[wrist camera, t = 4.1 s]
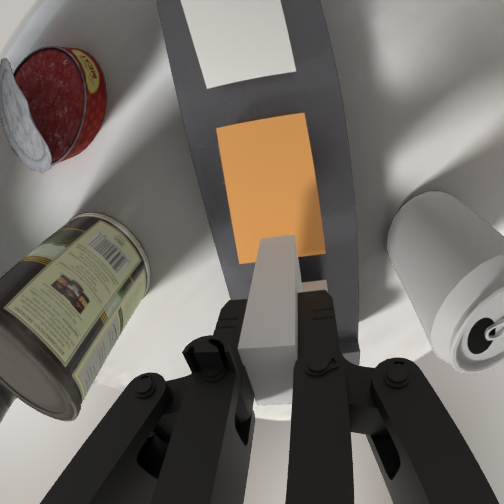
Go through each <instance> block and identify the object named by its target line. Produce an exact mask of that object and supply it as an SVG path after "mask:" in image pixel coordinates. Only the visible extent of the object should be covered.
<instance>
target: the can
mask: <svg viewBox="0 0 504 504" xmlns="http://www.w3.org/2000/svg"><path fill="white" fill-rule="evenodd" d="M387 251H388V254H389V258H390V261H391V263H392V265H393V267H394V269H395V271H396V273H397V275H398V277H399V278H400V280H401V282H402V284H403V286H404V288H405V290H406V292H407V294H408V297H409V299H410V301H411V303H412V305H413V307H414V309H415V311H416V313H417V316H418V318H419V320H420V322H421V324H422V327H423V329H424V331H425V333H426V336H427V338H428V340H429V343H430V345H431V347H432V349H433V350H434V352H435V353H436V355H437V357H438V358H440V359H442V360H444V361H446V362H448V363H451V364H452V366H453V367H454V369H455V370H457V371H459V372H461V373H463V374H477V373H480V372H483V371H487V370H490V369H491V368H494V367H496V366H497V365H499V364H501V363H502V362H504V236H503V235H501V234H500V233H499V232H498V231H497V230H496V229H494V228H493V227H492V226H491V225H490V224H489V223H487V222H486V221H485V220H484V219H482V218H481V217H480V216H479V215H478V214H476V213H475V212H474V211H472V210H471V209H470V208H469V207H467V206H466V205H465V204H463V203H462V202H461V201H459V200H458V199H457V198H455V197H454V196H452V195H450V194H447V193H445V192H442V191H428V192H425V193H423V194H420V195H417V196H415V197H413V198H412V199H411V200H410V201H408V202H407V203H406V204H404V205H403V206H402V207H401V209H400V210H399V211H398V213H397V214H396V216H395V217H394V218H393V220H392V223H391V226H390V228H389V231H388V236H387Z"/></svg>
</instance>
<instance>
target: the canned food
mask: <svg viewBox="0 0 504 504" xmlns="http://www.w3.org/2000/svg"><path fill="white" fill-rule="evenodd" d="M106 98H107V94H106V83H105V79H104V75H103V72H102V70H101V68H100V66H99V64H98V63H97V62H96V60H95V59H94V58H93V57H92V56H91V55H90V54H88V53H87V52H85V51H83V50H80V49H76V48H64V47H57V46H47V47H43V48H40V49H38V50H36V51H34V52H32V53H31V54H29V55H28V56H27V57H26V58H25V59H24V60H23V61H22V62H21V63H20V64H19V65H18V67H17V68H16V70H15V72H14V73H13V72H12V69H11V66H10V63H9V61H8V60H7V58H3V59H1V64H0V115H1V120H2V125H3V128H4V130H5V132H6V136H7V139H8V142H9V144H10V146H11V148H12V149H13V151H14V153H15V154H16V155H17V156H18V157H19V158H20V160H21V161H22V162H24V163H25V164H26V165H27V166H28V167H29V168H30V169H31V170H34V171H39V172H41V173H44V172H45V171H47V170H49V169H51V166H53V165H55V164H57V163H59V162H61V161H64V160H66V159H69V158H71V157H73V156H76V155H78V154H79V153H81V152H82V151H83V150H85V149H86V148H87V147H88V146H89V144H90V143H91V142H92V141H93V139H94V138H95V136H96V134H97V133H98V131H99V129H100V126H101V123H102V121H103V117H104V113H105V109H106Z"/></svg>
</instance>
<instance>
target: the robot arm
mask: <svg viewBox="0 0 504 504" xmlns="http://www.w3.org/2000/svg"><path fill="white" fill-rule="evenodd" d="M182 353H183V355H184V357H185V359H186V361H187V363H188V365H189V367H190V369H191V371H192V374H190V375H188V376H185V377H182V378H178V379H174V380H170V381H165V380H164V378H163V377H162V376H161V375H159V374H157V373H150V372H149V373H145V374H141V375H139V376H138V377H136V378H134V379H133V380H132V381H131V382H130V383H129V384H128V386H127V387H126V388H125V390H124V391H123V392H122V394H121V395H120V396H119V397H118V399H117V400H116V402H115V403H114V404H113V405H112V407H111V408H110V409H109V411H108V412H107V413H106V415H105V416H104V417H103V419H102V420H101V421H100V423H99V424H98V425H97V427H96V428H95V429H94V431H93V432H92V433H91V435H90V436H89V437H88V439H87V440H86V441H85V443H84V444H83V445H82V447H81V448H80V449H79V451H78V452H77V453H76V455H75V456H74V457H73V459H72V460H71V462H70V463H69V464H68V466H67V467H66V468H65V470H64V471H63V472H62V474H61V475H60V477H59V478H58V479H57V481H56V482H55V484H54V485H53V486H52V488H51V489H50V490H49V492H48V493H47V494H46V496H45V497H44V499H43V500H42V501H41V503H40V504H243V502H244V495H245V488H246V482H247V475H248V468H249V461H250V454H251V447H252V440H253V433H254V425H255V414H254V411H253V402H254V398H255V401H256V404H257V405H275V404H292V415H291V434H290V450H289V465H288V479H287V493H286V503H285V504H354V483H353V461H352V445H351V432H355V433H361V434H366V437H367V439H368V442H369V444H370V446H371V449H372V451H373V454H374V456H375V459H376V461H377V463H378V466H379V468H380V471H381V473H382V476H383V478H384V481H385V483H386V486H387V488H388V491H389V493H390V496H391V498H392V501H393V503H394V504H499V502H498V500H497V498H496V496H495V494H494V492H493V490H492V488H491V487H490V485H489V483H488V481H487V479H486V477H485V475H484V473H483V472H482V470H481V468H480V466H479V464H478V462H477V461H476V459H475V457H474V455H473V453H472V452H471V450H470V448H469V447H468V445H467V443H466V441H465V440H464V438H463V436H462V435H461V433H460V431H459V429H458V428H457V426H456V424H455V423H454V421H453V420H452V418H451V417H450V415H449V413H448V412H447V410H446V409H445V407H444V405H443V403H442V402H441V400H440V399H439V397H438V396H437V394H436V393H435V391H434V389H433V388H432V386H431V385H430V384H429V382H428V380H427V379H426V377H425V376H424V374H423V373H422V371H421V370H420V368H419V367H418V366H417V365H416V364H415V363H414V362H412V361H410V360H408V359H405V358H391V359H386V360H385V361H383V362H381V363H379V364H378V365H377V367H376V368H370V367H362V366H358V365H355V364H353V363H351V362H349V361H348V360H346V359H345V358H344V356H343V355H342V353H341V350H340V345H339V338H338V331H337V324H336V318H335V311H334V304H333V298H332V297H331V295H330V294H329V293H328V292H327V291H326V290H317V291H308V292H302V282H301V274H300V267H299V260H298V253H297V247H296V240H295V234H293V235H285V236H277V237H270V238H262V239H260V244H259V249H258V254H257V258H256V263H255V268H254V273H253V278H252V283H251V287H250V292H249V297H248V299H238V300H229V301H228V302H227V303H226V304H225V306H224V307H223V308H222V309H221V311H220V315H219V318H218V321H217V324H216V329H215V331H214V334H213V336H212V335H209V336H204V337H200V338H198V339H196V340H193V341H192V342H191V343H189V344H188V345H187V346H186V347H185V349H184V350H183V352H182ZM16 398H18V397H16V396H15V395H14V394H13V393H11V392H10V391H9V390H8V389H7V388H6V387H5V386H4V385H3V384H2V383H1V382H0V422H1V421H2V419H3V417H4V416H5V414H6V412H7V411H8V409H9V407H10V406H11V404H12V403H13V401H14V400H15V399H16Z"/></svg>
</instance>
